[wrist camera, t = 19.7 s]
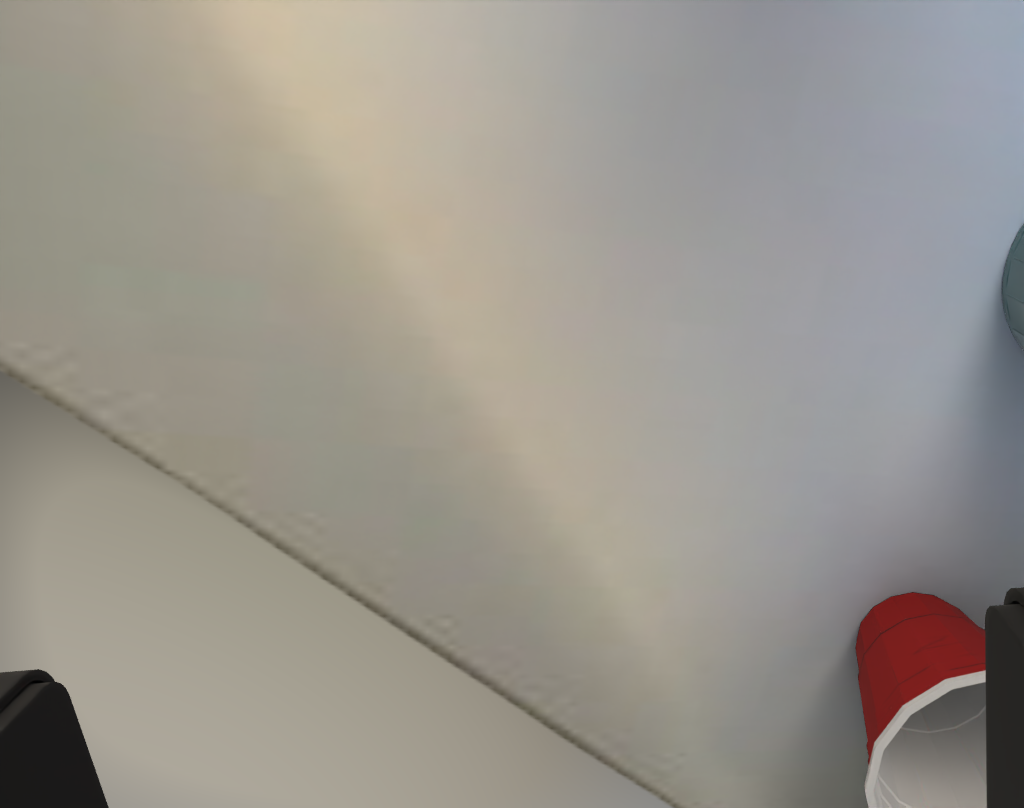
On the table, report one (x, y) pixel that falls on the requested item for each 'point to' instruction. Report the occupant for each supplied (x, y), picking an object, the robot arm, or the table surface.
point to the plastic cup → (923, 704)
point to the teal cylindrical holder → (1015, 288)
